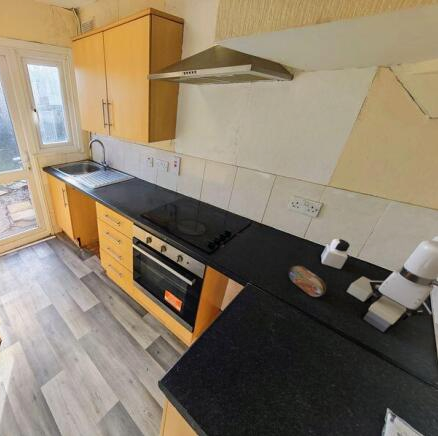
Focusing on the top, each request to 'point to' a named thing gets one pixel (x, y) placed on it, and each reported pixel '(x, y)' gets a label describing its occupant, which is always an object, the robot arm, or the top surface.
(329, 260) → the container
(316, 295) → the tin
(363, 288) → the beige block
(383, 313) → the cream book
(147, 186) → the top surface
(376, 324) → the grey block
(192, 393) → the top surface
